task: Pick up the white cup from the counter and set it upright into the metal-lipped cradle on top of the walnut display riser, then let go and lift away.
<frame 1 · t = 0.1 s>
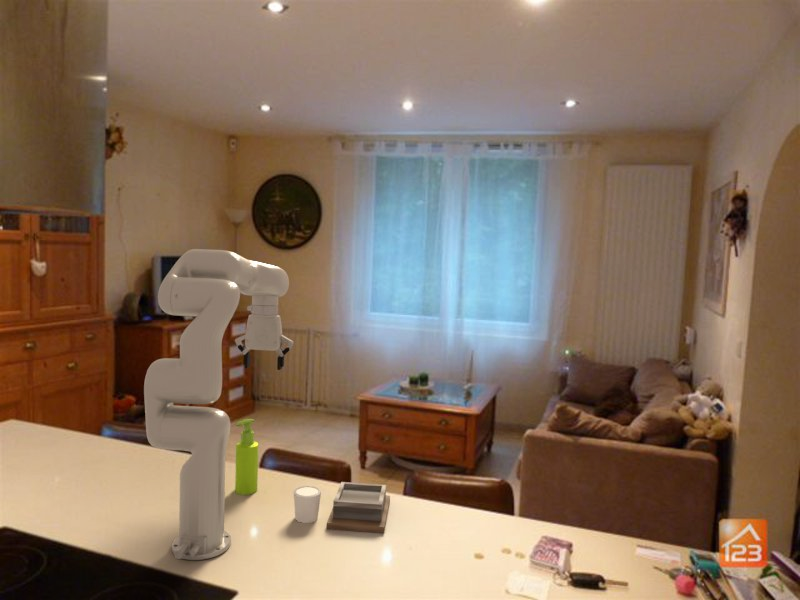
hand: (263, 368, 173), 31 cm above the countertop, tool pointing down, fingers open, 9 cm apart
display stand: (359, 514, 151), on the countertop
white cup: (306, 518, 147), on the countertop
soap dispenser: (244, 491, 162), on the countertop
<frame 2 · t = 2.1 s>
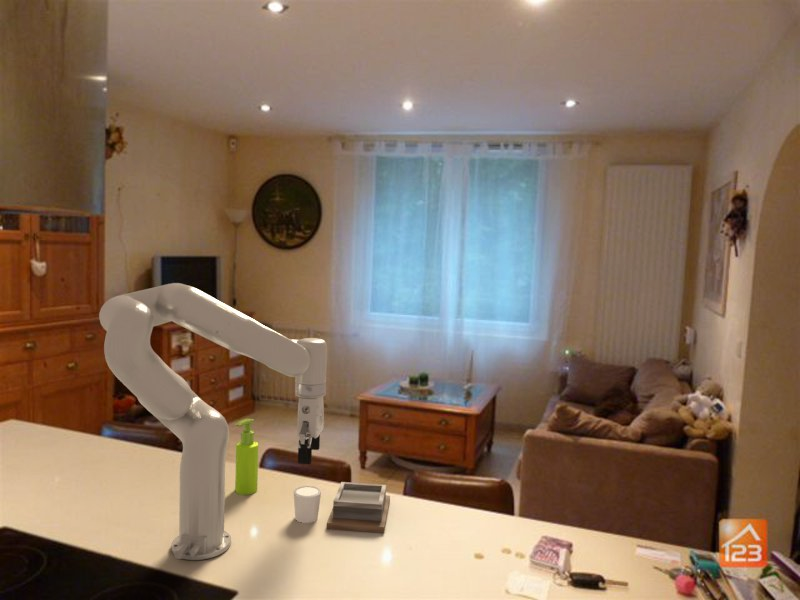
hand: (309, 456, 146), 16 cm above the countertop, tool pointing down, fingers open, 9 cm apart
nothing on the countertop moved.
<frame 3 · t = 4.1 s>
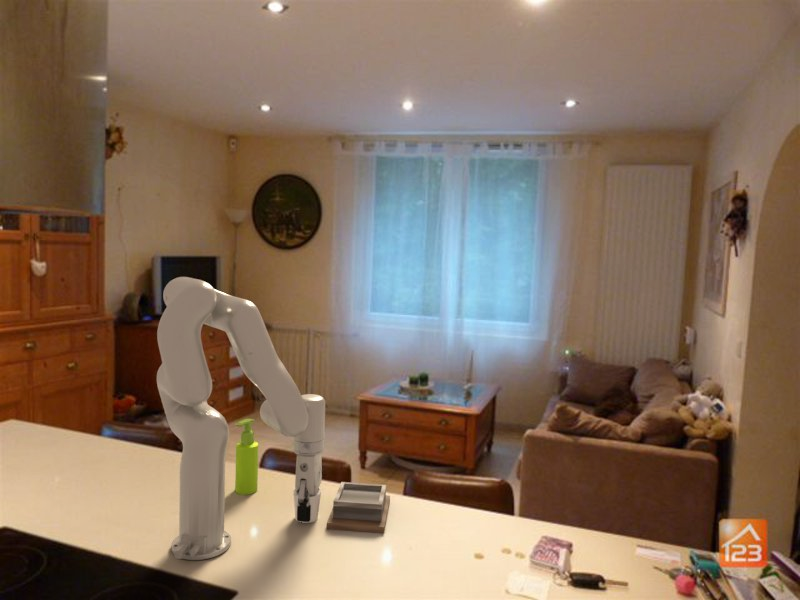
hand: (306, 514, 147), 1 cm above the countertop, tool pointing down, fingers closed on white cup, 6 cm apart
white cup: (306, 518, 147), on the countertop, touching gripper
everything else where it was.
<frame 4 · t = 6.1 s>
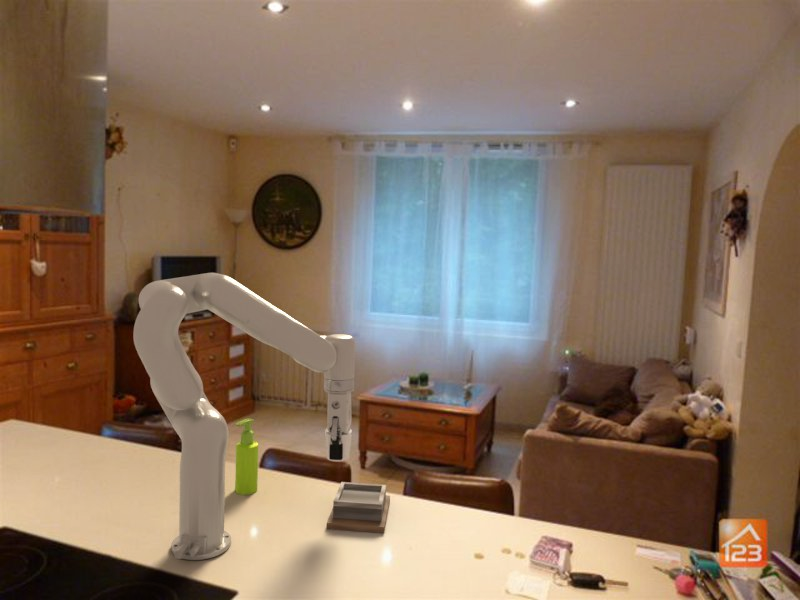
hand: (338, 453, 148), 16 cm above the countertop, tool pointing down, fingers closed on white cup, 6 cm apart
white cup: (337, 458, 148), point 15 cm above the countertop, touching gripper
everything else where it was.
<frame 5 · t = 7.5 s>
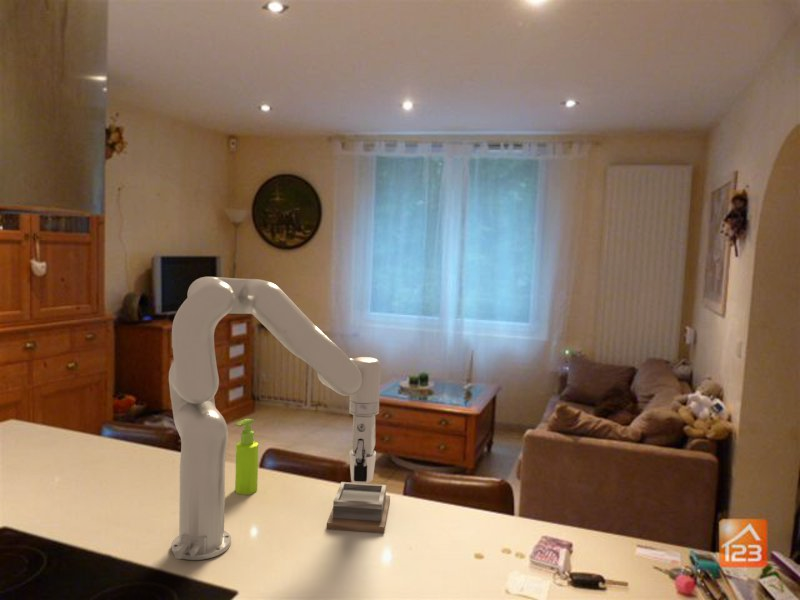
hand: (361, 475, 150), 10 cm above the countertop, tool pointing down, fingers closed on white cup, 5 cm apart
white cup: (361, 479, 150), point 9 cm above the countertop, touching gripper
everything else where it was.
when the fingers open (7 cm above the countertop, at t = 8.5 s): white cup drops 2 cm, resting on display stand.
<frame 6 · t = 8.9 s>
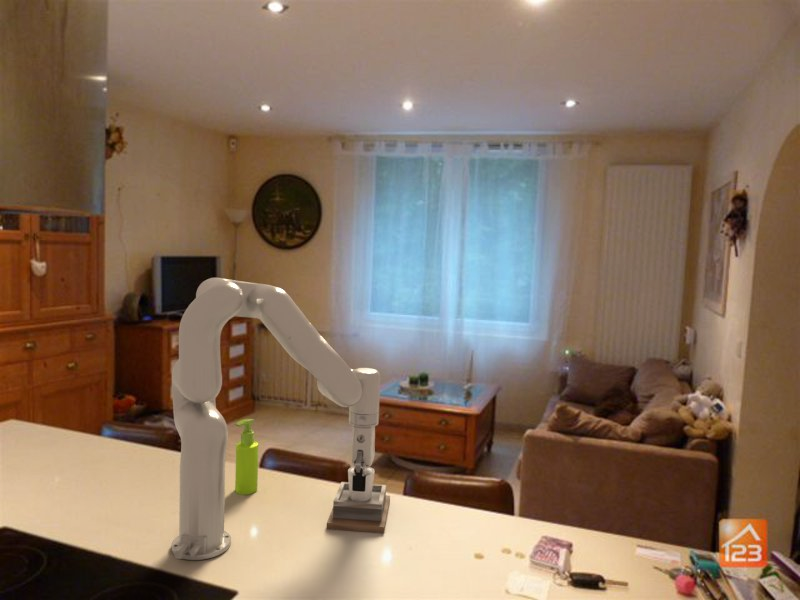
hand: (361, 482, 150), 8 cm above the countertop, tool pointing down, fingers open, 9 cm apart
white cup: (360, 497, 151), point 4 cm above the countertop, touching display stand
everything else where it was.
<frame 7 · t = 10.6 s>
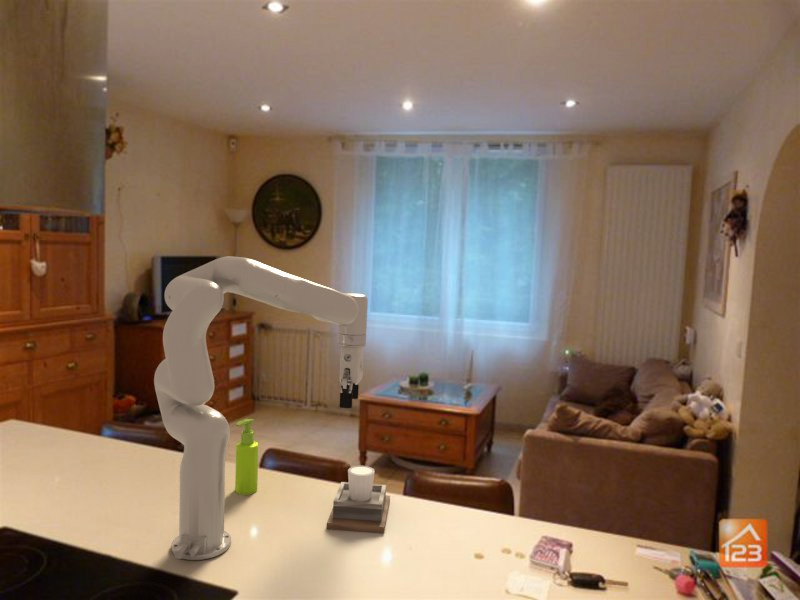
hand: (349, 402, 158), 26 cm above the countertop, tool pointing down, fingers open, 9 cm apart
nothing on the countertop moved.
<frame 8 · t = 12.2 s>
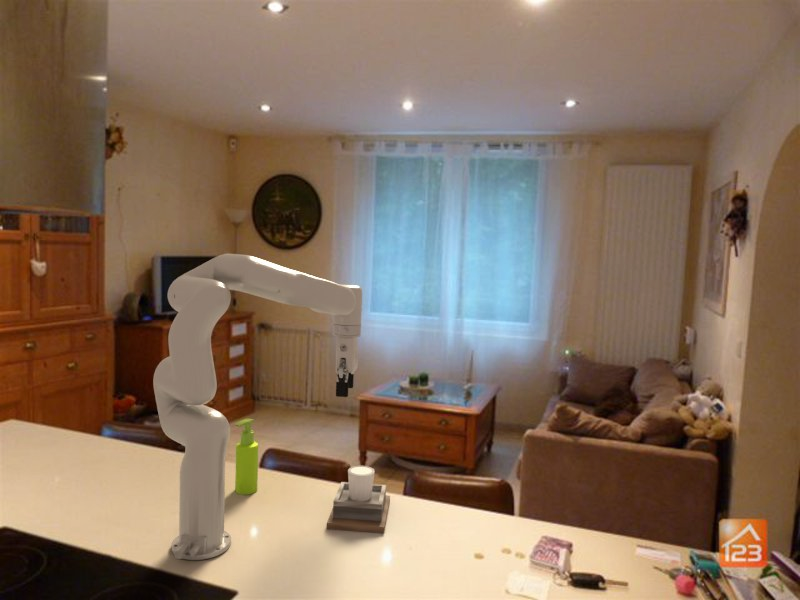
hand: (344, 392, 161), 28 cm above the countertop, tool pointing down, fingers open, 9 cm apart
nothing on the countertop moved.
at the end: white cup 0.4 cm off-centre on the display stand, point 4.3 cm above the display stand's base; white cup tilted 0°; the gripper is holding nothing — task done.
